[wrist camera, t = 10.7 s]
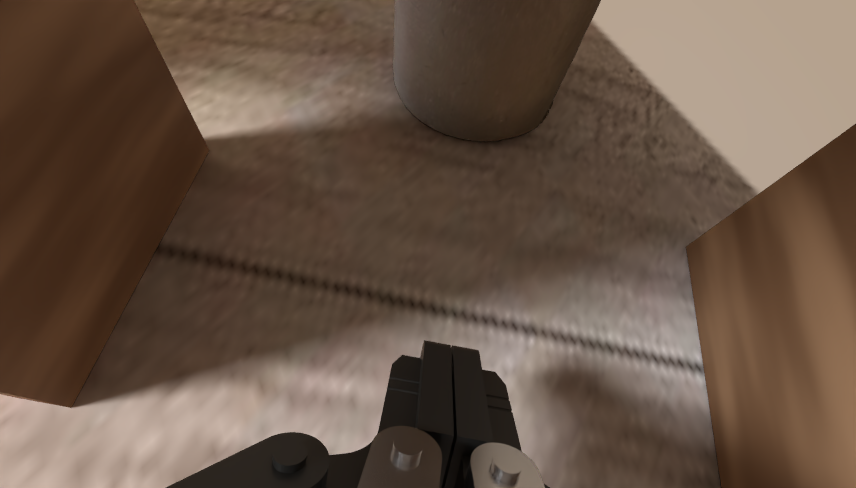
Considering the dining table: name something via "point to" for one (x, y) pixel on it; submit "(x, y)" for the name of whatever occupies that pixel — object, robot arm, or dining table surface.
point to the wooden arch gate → (186, 150)
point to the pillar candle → (485, 61)
